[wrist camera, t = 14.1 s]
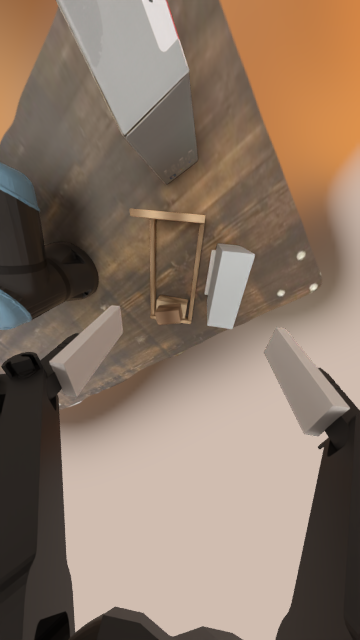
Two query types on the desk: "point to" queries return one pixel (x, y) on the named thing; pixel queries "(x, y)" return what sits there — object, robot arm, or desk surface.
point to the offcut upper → (169, 314)
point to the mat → (210, 271)
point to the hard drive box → (139, 76)
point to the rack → (153, 216)
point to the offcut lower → (172, 302)
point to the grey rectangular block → (227, 284)
